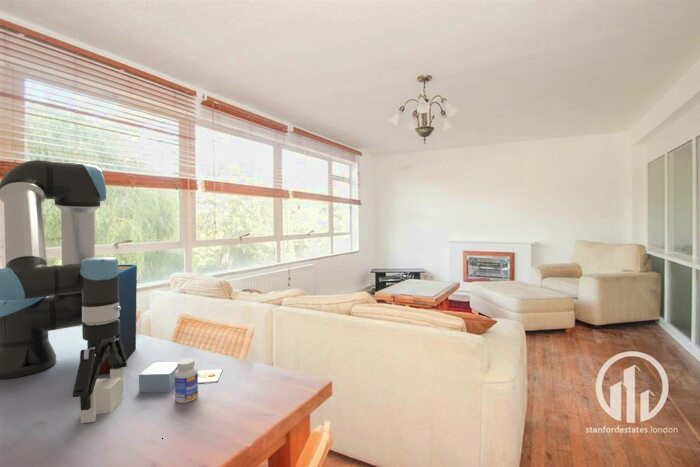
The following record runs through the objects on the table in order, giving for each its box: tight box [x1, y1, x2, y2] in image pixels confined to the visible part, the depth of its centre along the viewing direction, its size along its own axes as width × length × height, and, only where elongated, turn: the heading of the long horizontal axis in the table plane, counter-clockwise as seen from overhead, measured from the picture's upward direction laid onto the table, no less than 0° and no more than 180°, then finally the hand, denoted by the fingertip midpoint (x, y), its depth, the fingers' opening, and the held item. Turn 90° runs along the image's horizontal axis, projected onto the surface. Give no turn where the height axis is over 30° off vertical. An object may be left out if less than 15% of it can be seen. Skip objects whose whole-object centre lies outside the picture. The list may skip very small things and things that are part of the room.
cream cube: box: [93, 377, 124, 415], centre depth 85 cm, size 6×6×6 cm
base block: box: [138, 361, 178, 393], centre depth 97 cm, size 8×8×5 cm
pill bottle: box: [174, 357, 199, 404], centre depth 90 cm, size 5×5×10 cm
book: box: [86, 264, 138, 374], centre depth 113 cm, size 24×9×30 cm, turn 18°
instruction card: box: [198, 368, 223, 384], centre depth 102 cm, size 10×8×1 cm
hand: (103, 406), depth 85 cm, fingers open, 13 cm apart
